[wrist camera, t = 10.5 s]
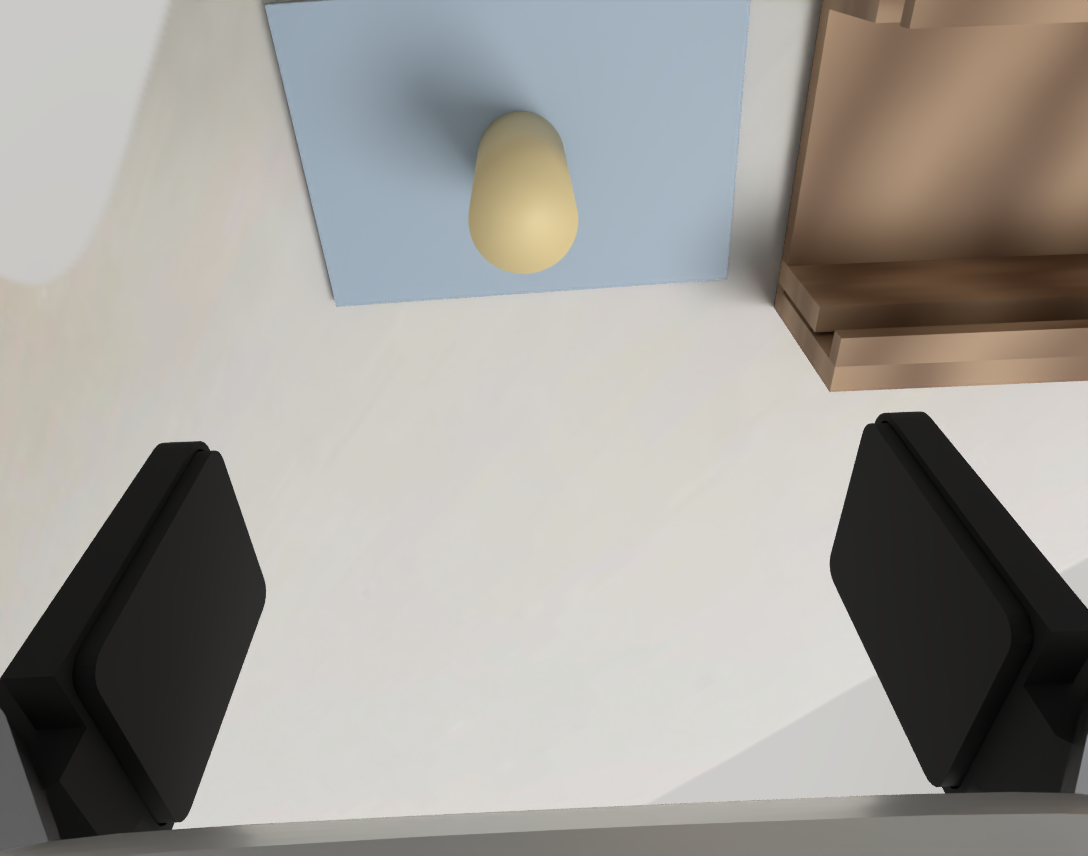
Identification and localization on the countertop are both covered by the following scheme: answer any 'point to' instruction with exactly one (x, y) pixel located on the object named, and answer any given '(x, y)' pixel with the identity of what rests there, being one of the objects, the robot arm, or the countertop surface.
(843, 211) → the brown wooden open box
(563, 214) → the lid
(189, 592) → the robot arm
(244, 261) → the countertop surface
